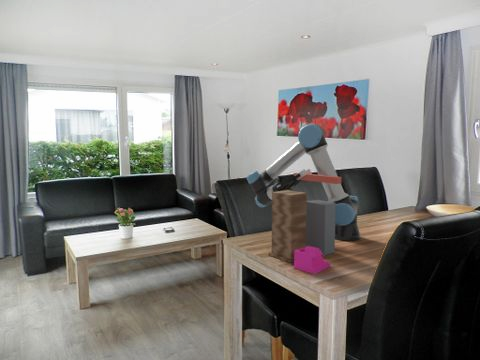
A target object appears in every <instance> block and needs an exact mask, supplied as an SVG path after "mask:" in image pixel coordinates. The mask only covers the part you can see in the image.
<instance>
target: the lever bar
mask: <svg viewBox="0 0 480 360" xmlns="http://www.w3.org/2000/svg"><path fill="white" fill-rule="evenodd" d="M298 173H299V172H295V173H293V176H295V175H296V174H298ZM296 180H297V179H296ZM299 180H304V181H307V182H316V183H317V182H318V183H322V182H323V183H332V184H341V185H342V180H343V179H342V176H338V177H336V176H326V175H318V174H314V173H312V174H307V175H305V176H304V177H302V178H300V179H299Z"/></svg>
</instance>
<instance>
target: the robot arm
mask: <svg viewBox="0 0 480 360" xmlns="http://www.w3.org/2000/svg"><path fill="white" fill-rule="evenodd" d="M297 138H298V141H297V142H296V143H295V144H293V146H291V147H289V149H287V150H286V151H285V152H284V153H283V154H282V155H280V156H279V157H278V158H277V159H276V160H275V161H273V163H271V164H270V165H269V166H268V167H267V168H266V169H265V170H263V171H262V172H261V173H259V172H258V170H255V171H253V172H251V173H250V174H247V176H246V181H247V182H248V185H250V187H251V189H252V190H253V192H254V194H255V197H254V201H255V204H256V205H257V206H258V207H259V208H265V207H267V206H269V205H271V204H272V192H277V191H283V190H290V189H291V188H292V187H293V188H295V187H296V186H298V185H299V184H301V183H302V182H304V181H305V180H299V179H300V178H302V177H304V176H305V175H307V174H313V173H312V170H311V169H310V168H308V169H303V170H300V171H299V172H297V173H298V174H296V175H295V176H294V175H292V176H289V177H287V178H286V179H284V180H282V181H278V182H276V183H274V184H273V185H270V184H271V183H272V182H273V181H274V180H276V179H277V177H279V176H280V175H281V174H282V173H284V171H286V170H288V168H290V167H291V166H292V165H293V164H294V163H296V162H297V161H298V160H299V159H300V158H302V157H303V156H304V155H309V156H310V157H311V160H312V163H313V165H314V167H315V170H316V172H317V175H326V176H336V177H339V176H338V173H337V171H336V169H335V167H334V164H333V161H332V160H331V158H330V155H329V153H328V150H327V148H328V146H329V144H328V141H327V140H326V131H325V129H324V127H322V126H321V125H320V124H317V123H316V124H315V123H308V124H305V125H304V126H302V127H301V128H300V129H299V132H298V135H297ZM296 179H297V180H296ZM321 184H322V186H323V189H324V191H325V194H326V196H327V202H334V203H336V210H335V240H339V241H349V242H350V241H357V240H360V239H361V232H360V229H359V226H358V204H359V198H358V196H357V195H349V194H348V193H346V192H345V191H344V189H343V186H342V183H341V184H332V183H323V182H321ZM269 185H270V186H269ZM268 186H269V187H268Z"/></svg>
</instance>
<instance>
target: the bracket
mask: <svg viewBox="0 0 480 360" xmlns="http://www.w3.org/2000/svg"><path fill="white" fill-rule="evenodd" d="M323 256H324V255H323V253H322V252H321V251H320V249H319V248H316V247H311V246H307V247H305V249H304V248H300V249H298V250H295V251H294V262H293V264H294V269H297V270H299V271H300V270H301V271H303V272H308V273H311V274H314V275H315V274H318V273H320V272H322V271H324V270H326V269H328V268H330V267H331V263H330V262H329V261H327V260H325V259H324V258H323Z"/></svg>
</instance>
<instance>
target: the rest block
mask: <svg viewBox="0 0 480 360" xmlns="http://www.w3.org/2000/svg"><path fill="white" fill-rule="evenodd" d="M327 201H328V200H327ZM327 201H326V200H322V199H321V200H319V199H312V200H306V247H307V246H311V247H316V248H319V249H320V251H321V252H322V253H323V255H322V256H327V255H331V254H332V253H333V254H334V253H335V249H336V247H335V246H336V245H335V244H336V243H335V242H336V239H335V210H336V203H334V202H327Z"/></svg>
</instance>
